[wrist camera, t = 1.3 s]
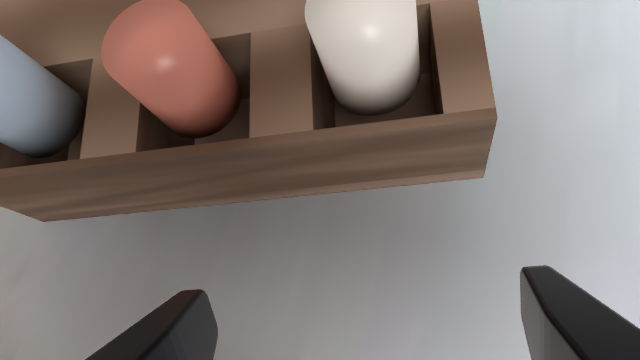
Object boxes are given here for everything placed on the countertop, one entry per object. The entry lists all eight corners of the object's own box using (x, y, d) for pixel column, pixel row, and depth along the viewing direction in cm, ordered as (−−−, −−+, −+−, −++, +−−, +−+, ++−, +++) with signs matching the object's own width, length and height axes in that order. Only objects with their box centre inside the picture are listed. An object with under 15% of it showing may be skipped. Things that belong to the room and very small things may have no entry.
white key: (424, 109, 19) (421, 43, 15) (332, 121, 19) (305, 60, 16) (415, 30, 20) (410, -50, 16) (328, 43, 21) (303, -31, 17)
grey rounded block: (79, 153, 21) (0, 106, 18) (7, 162, 22) (-85, 119, 18) (88, 80, 23) (16, 22, 19) (20, 91, 23) (-64, 36, 19)
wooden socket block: (483, 177, 23) (497, 117, 17) (43, 221, 27) (-58, 185, 21) (455, -8, 26) (459, -108, 21) (68, 56, 30) (-14, -13, 25)
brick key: (240, 132, 20) (193, 77, 16) (159, 143, 21) (95, 92, 17) (242, 57, 21) (198, -12, 17) (165, 69, 22) (107, 5, 18)
